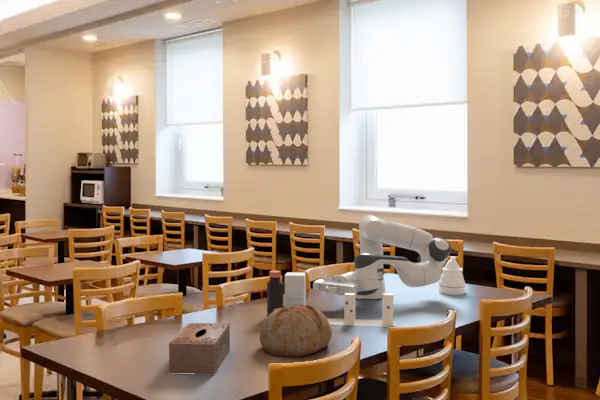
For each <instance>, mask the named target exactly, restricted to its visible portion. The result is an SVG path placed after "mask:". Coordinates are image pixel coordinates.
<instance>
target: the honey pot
mask: <svg viewBox="0 0 600 400" xmlns="http://www.w3.org/2000/svg"><path fill="white" fill-rule="evenodd" d="M456 259H457V258H456V256H450V259H449V260H448V261H446V263H445V265H444V266H443V267H442V271H441V278H440V280H439V281H438V293H441V294H443V295H450V296H452V295H453V296H454V295H464V294H465V293H466V282H465V279H464V278H465V277H464V274H463V273H462V272H463V270H464V269H463V267H460V265H459V263H458V262H457V260H456Z"/></svg>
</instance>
